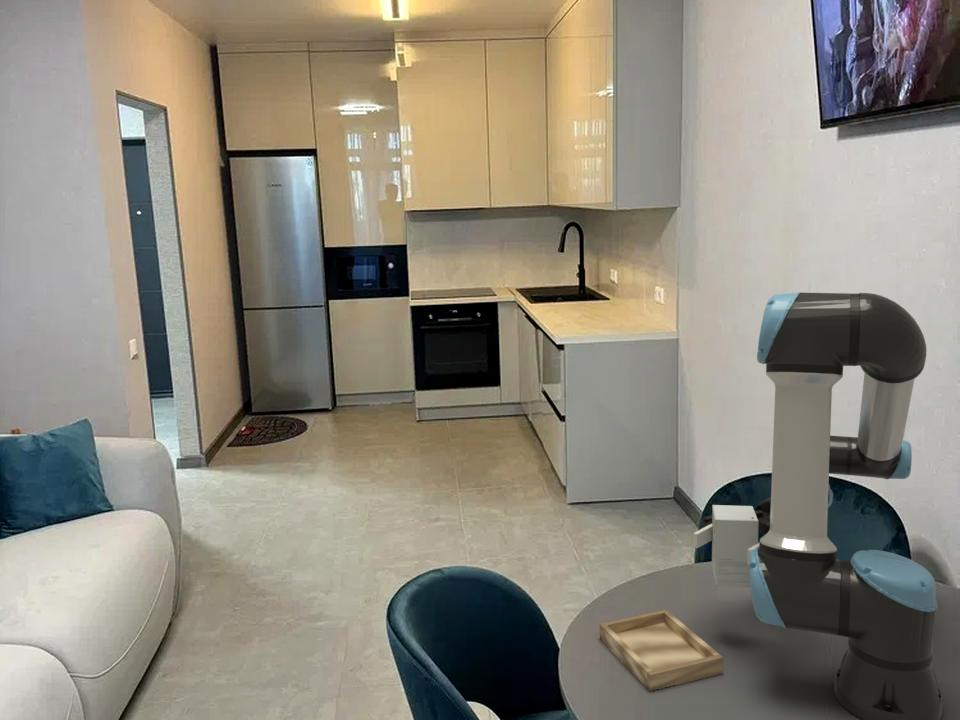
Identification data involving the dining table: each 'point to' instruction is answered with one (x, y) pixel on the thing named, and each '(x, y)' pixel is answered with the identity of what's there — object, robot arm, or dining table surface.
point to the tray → (660, 650)
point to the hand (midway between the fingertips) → (721, 548)
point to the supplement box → (732, 543)
